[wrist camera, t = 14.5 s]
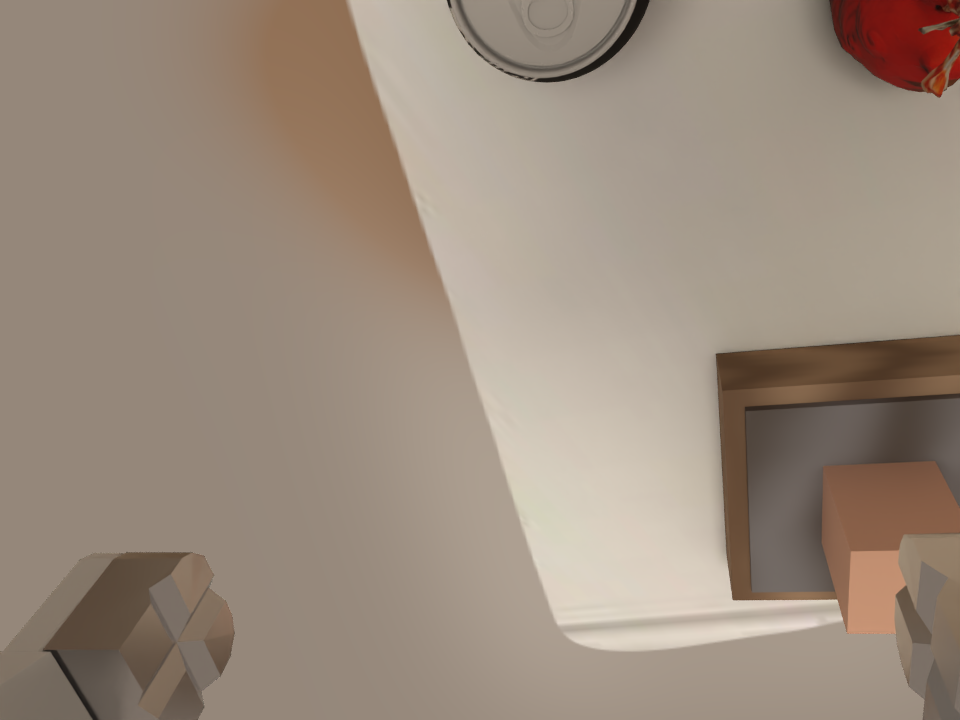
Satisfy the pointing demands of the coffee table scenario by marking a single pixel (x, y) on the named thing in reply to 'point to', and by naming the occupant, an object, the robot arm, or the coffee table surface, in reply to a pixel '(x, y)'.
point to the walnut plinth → (822, 445)
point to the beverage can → (547, 34)
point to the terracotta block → (878, 532)
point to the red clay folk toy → (903, 40)
